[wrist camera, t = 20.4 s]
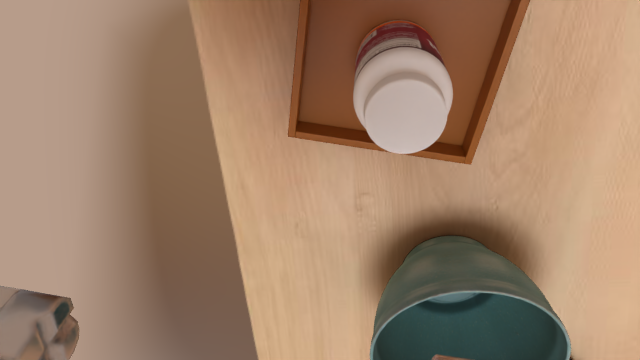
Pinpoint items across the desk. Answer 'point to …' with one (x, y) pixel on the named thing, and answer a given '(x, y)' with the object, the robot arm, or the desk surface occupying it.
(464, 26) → the amber tray
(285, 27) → the desk surface
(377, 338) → the teal bowl
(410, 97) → the pill bottle
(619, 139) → the desk surface
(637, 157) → the desk surface
